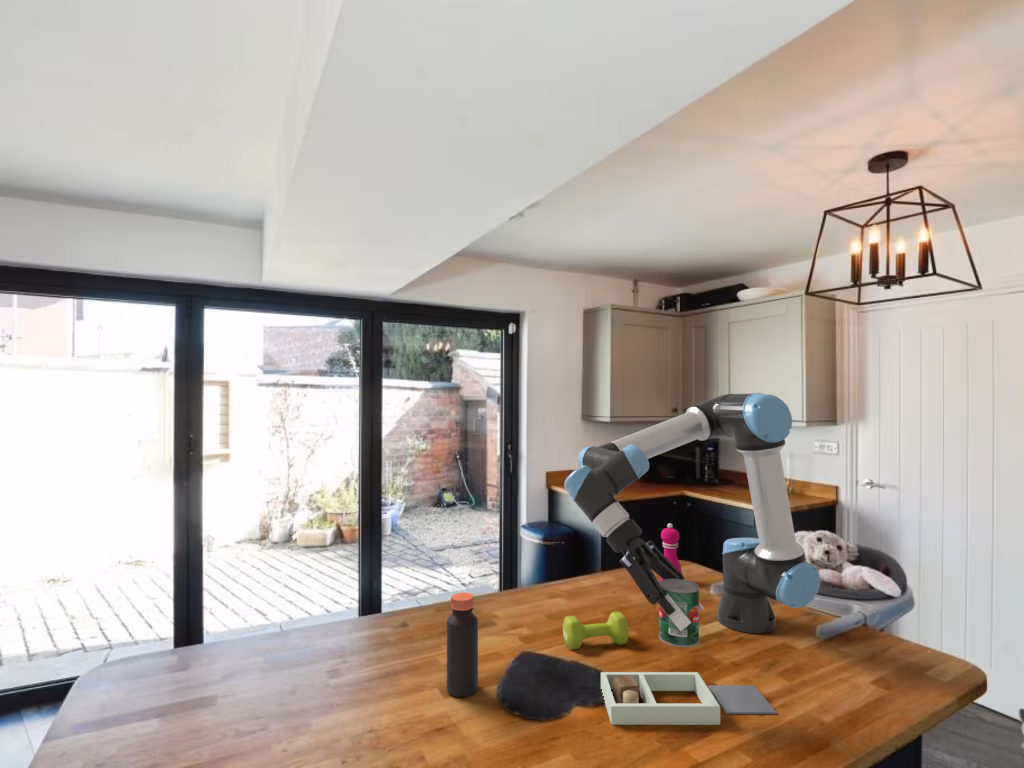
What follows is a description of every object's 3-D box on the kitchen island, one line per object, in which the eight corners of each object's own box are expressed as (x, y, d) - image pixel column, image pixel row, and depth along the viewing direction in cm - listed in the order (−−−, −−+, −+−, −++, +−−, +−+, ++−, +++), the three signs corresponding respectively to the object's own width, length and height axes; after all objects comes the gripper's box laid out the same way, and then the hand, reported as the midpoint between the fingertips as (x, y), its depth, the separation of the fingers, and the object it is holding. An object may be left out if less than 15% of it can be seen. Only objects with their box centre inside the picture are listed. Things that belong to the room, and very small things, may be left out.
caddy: (697, 688, 118) (697, 672, 118) (720, 724, 105) (720, 706, 105) (600, 688, 119) (600, 672, 119) (611, 724, 106) (611, 706, 106)
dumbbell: (619, 634, 145) (619, 607, 146) (632, 648, 138) (632, 619, 138) (560, 640, 142) (560, 612, 142) (569, 654, 134) (569, 625, 134)
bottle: (470, 700, 114) (469, 604, 114) (440, 694, 116) (441, 600, 117) (482, 684, 120) (482, 593, 121) (455, 679, 123) (455, 589, 123)
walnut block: (631, 694, 116) (631, 675, 116) (638, 705, 112) (638, 685, 112) (613, 696, 116) (613, 677, 116) (620, 707, 112) (619, 687, 112)
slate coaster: (754, 687, 119) (754, 685, 119) (776, 714, 109) (776, 712, 109) (708, 687, 119) (708, 685, 119) (726, 714, 109) (726, 712, 109)
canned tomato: (653, 631, 115) (653, 578, 116) (689, 629, 116) (689, 577, 116) (667, 648, 108) (667, 592, 108) (706, 646, 108) (705, 591, 109)
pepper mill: (682, 580, 187) (681, 521, 187) (681, 587, 180) (680, 526, 181) (660, 578, 189) (659, 520, 190) (658, 585, 183) (658, 525, 183)
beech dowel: (636, 709, 110) (636, 689, 111) (640, 718, 108) (639, 698, 108) (621, 709, 111) (621, 689, 111) (624, 718, 108) (624, 698, 108)
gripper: (625, 528, 130) (695, 612, 120) (585, 549, 113) (661, 648, 103) (646, 509, 127) (719, 593, 117) (608, 527, 110) (689, 627, 100)
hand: (692, 619), depth 110 cm, fingers closed on canned tomato, 8 cm apart
